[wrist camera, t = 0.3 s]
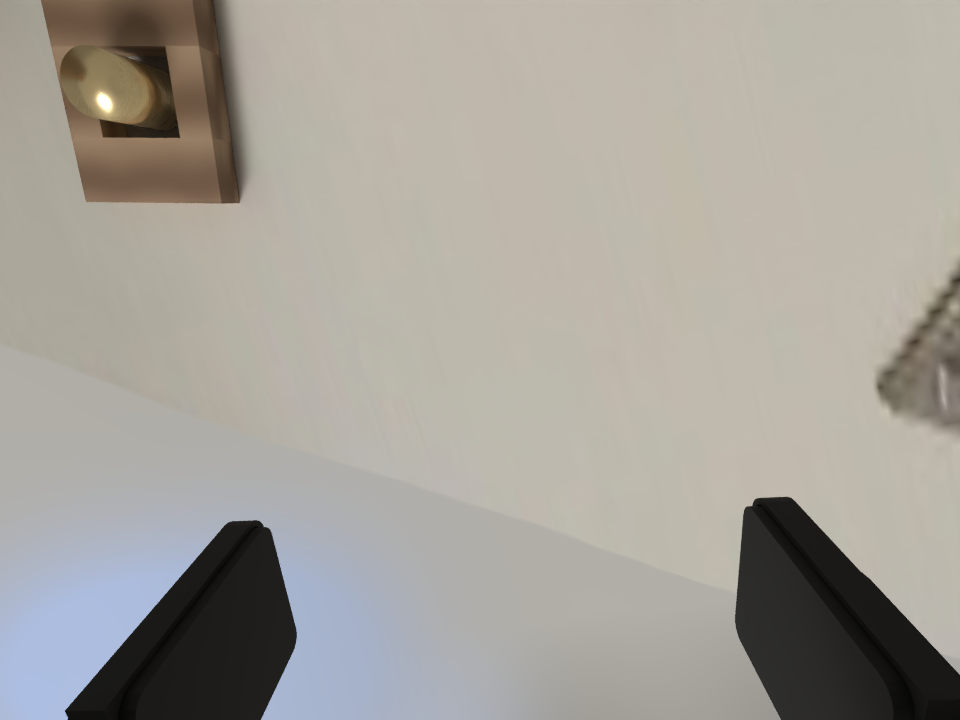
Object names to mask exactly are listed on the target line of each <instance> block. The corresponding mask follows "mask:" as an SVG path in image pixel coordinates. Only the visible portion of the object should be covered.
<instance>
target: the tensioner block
mask: <svg viewBox="0 0 960 720" xmlns="http://www.w3.org/2000/svg"><path fill="white" fill-rule="evenodd" d="M41 2H42V6H43V11H44V15H45V20H46V24H47V29H48V33H49V38H50V42H51V47H52V51H53V56H54V60H55V65H56V69H57V74H58V78H59V83H60V87H61V92H62V96H63V101H64V105H65V110H66V114H67V119H68V123H69V128H70V132H71V136H72V141H73V145H74V150H75V154H76V159H77V163H78V168H79V172H80V177H81V181H82V186H83V190H84V195H85V199H86V202H146V203H239V196H238V188H237V181H236V173H235V166H234V158H233V151H232V143H231V136H230V128H229V120H228V113H227V105H226V98H225V90H224V83H223V75H222V68H221V60H220V53H219V45H218V37H217V30H216V22H215V15H214V7H213V0H41ZM84 44H85V45H92V46H96V47H98V48H101V49H104V50H107V51H110V52H113V53H115V54H118V55H121V56H167V59H168V66H169V72H170V78H171V84H172V90H173V97H174V103H175V109H176V115H177V121H178V128H179V134H180V138H128V134H127V128H126V124H124V123H119V122H113V121H108V120H102V119H97V118H92V117H89V116H87V115H85V114H83V113H82V112H80V111H79V110H78V109H76V108H75V107H74V106H73V105H72V103H71V102H70V101H69V99H68V98H67V96H66V94H65V92H64V90H63V87H62V84H61V79H60V67H61V63H62V60H63V58H64V56H65V54H66V53H67V52H68V51H69V50H70V49H72V48H73V47H75V46H78V45H84Z"/></svg>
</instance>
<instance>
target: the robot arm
mask: <svg viewBox="0 0 960 720" xmlns="http://www.w3.org/2000/svg"><path fill="white" fill-rule="evenodd" d="M735 623H736V629H737V633H738V636H739V639H740V641H741V643H742V645H743V647H744V649H745V651H746V653H747V655H748V656H749V658H750V660H751V662H752V664H753V666H754V668H755V670H756V672H757V674H758V676H759V678H760V680H761V681H762V683H763V686H764V687H765V689H766V691H767V693H768V695H769V697H770V699H771V701H772V703H773V705H774V707H775V709H776V711H777V712H778V715H779V716H780V718H781V720H960V675H959V674H958V673H957V672H956V670H955V669H954V668H953V667H952V666H951V665H950V664H949V663H948V662H947V661H946V660H945V659H944V658H943V657H942V655H941V654H940V653H939V652H938V651H937V650H936V649H935V648H934V647H933V646H932V645H931V644H930V643H929V642H928V641H927V639H926V638H925V637H924V636H923V635H922V634H921V633H920V632H919V631H918V630H917V629H916V628H915V627H914V626H913V625H912V623H911V622H910V621H909V620H908V619H907V618H906V617H905V616H904V615H903V614H902V613H901V612H900V611H899V610H898V609H897V608H896V606H895V605H894V604H893V603H892V602H891V601H890V600H889V599H888V598H887V597H886V596H885V595H884V594H883V593H882V592H881V590H880V589H879V588H878V587H877V586H876V585H875V584H874V583H873V582H872V581H871V580H870V579H869V578H868V577H867V576H866V575H864V574H863V573H862V572H860V571H859V569H858V568H857V567H856V566H855V565H854V564H853V563H852V562H851V561H850V560H849V559H848V558H847V557H846V556H845V554H844V553H843V552H842V551H841V550H840V549H839V548H838V547H837V546H836V545H835V544H834V543H833V542H832V541H831V539H830V538H829V537H828V536H827V535H826V534H825V533H824V532H823V531H822V530H821V529H820V528H819V527H818V525H817V524H816V523H815V522H814V521H813V520H812V519H811V518H810V517H809V516H808V515H807V514H806V513H805V512H804V510H803V509H802V508H801V507H800V506H799V505H798V504H797V503H796V502H795V501H794V500H793V499H792V498H790V497H773V498H757V499H755V500H754V502H753V506H749V507H746V508H745V510H744V515H743V527H742V540H741V552H740V564H739V577H738V589H737V601H736V614H735ZM296 638H297V632H296V627H295V623H294V619H293V615H292V611H291V607H290V603H289V599H288V595H287V592H286V588H285V584H284V580H283V576H282V572H281V568H280V564H279V560H278V557H277V552H276V549H275V545H274V541H273V537H272V533H271V531H270V529H269V528H267V527H264V526H263V524H262V523H261V522H260V521H257V520H254V521H232V522H229V523H227V524H226V525H225V526H224V527H223V528H222V529H221V531H220V532H219V533H218V534H217V535H216V536H215V538H214V539H213V540H212V541H211V542H210V543H209V545H208V546H207V547H206V548H205V549H204V550H203V552H202V553H201V554H200V555H199V556H198V557H197V558H196V560H195V561H194V562H193V563H192V564H191V565H190V567H189V568H188V569H187V570H186V571H185V572H184V574H183V575H182V576H181V577H180V578H179V580H178V581H177V582H176V583H175V584H174V585H173V586H172V587H171V589H170V590H169V591H168V592H167V593H166V594H165V595H164V597H163V598H162V599H161V600H160V602H159V603H158V604H157V605H156V606H155V607H154V608H153V609H152V611H151V612H150V613H149V614H148V615H147V616H146V618H145V619H144V620H143V621H142V622H141V623H140V625H139V626H138V627H137V628H136V629H135V630H134V631H133V633H132V634H131V635H130V636H129V637H128V638H127V640H126V641H125V642H124V643H123V644H122V646H120V648H119V649H118V650H117V651H116V653H114V655H113V656H112V657H111V658H110V659H109V661H108V662H107V663H106V664H105V665H104V666H103V667H102V669H101V670H100V671H99V672H98V673H97V674H96V676H95V677H94V678H93V679H92V680H91V682H90V683H89V684H88V685H87V686H86V687H85V688H84V689H83V691H82V692H81V693H80V694H79V695H78V696H77V698H76V699H75V700H74V701H73V702H72V703H71V704H70V706H69V707H68V708H67V709H66V710H65V712H66V714H67V716H68V720H261V718H262V716H263V714H264V712H265V710H266V707H267V705H268V703H269V701H270V699H271V697H272V695H273V693H274V691H275V688H276V687H277V684H278V682H279V680H280V678H281V676H282V674H283V672H284V670H285V667H286V665H287V663H288V661H289V659H290V657H291V655H292V653H293V650H294V648H295V644H296Z"/></svg>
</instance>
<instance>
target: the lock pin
mask: <svg viewBox="0 0 960 720" xmlns="http://www.w3.org/2000/svg"><path fill="white" fill-rule="evenodd" d="M60 79H61V84H62V87H63V90H64V92H65V94H66V96H67V98H68V99H69V101H70V102H71V103H72V105H73V106H74V107H75V108H76V109H78V110H79V111H80V112H82V113H83V114H85V115H87V116H89V117H92V118H97V119H102V120H108V121H113V122H119V123H124V124H129V125H135V126H140V127H146V128H151V129H157V130H170V129H172V128H174V127H176V126H177V125H178V121H177V115H176V109H175V103H174V97H173V90H172V84H171V78H170V74H168V73H167V72H165V71H163V70H160V69H157V68H155V67H152V66H149V65H146V64H143V63H141V62H138V61H135V60H132V59H129V58H127V57H124V56H121V55H118V54H115V53H113V52H110V51H107V50H104V49H101V48H98V47H96V46H92V45H85V44H84V45H78V46H75V47H73V48H72V49H70V50H69V51H68V52H67V53H66V54H65V56H64V58H63V60H62V63H61V67H60Z"/></svg>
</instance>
